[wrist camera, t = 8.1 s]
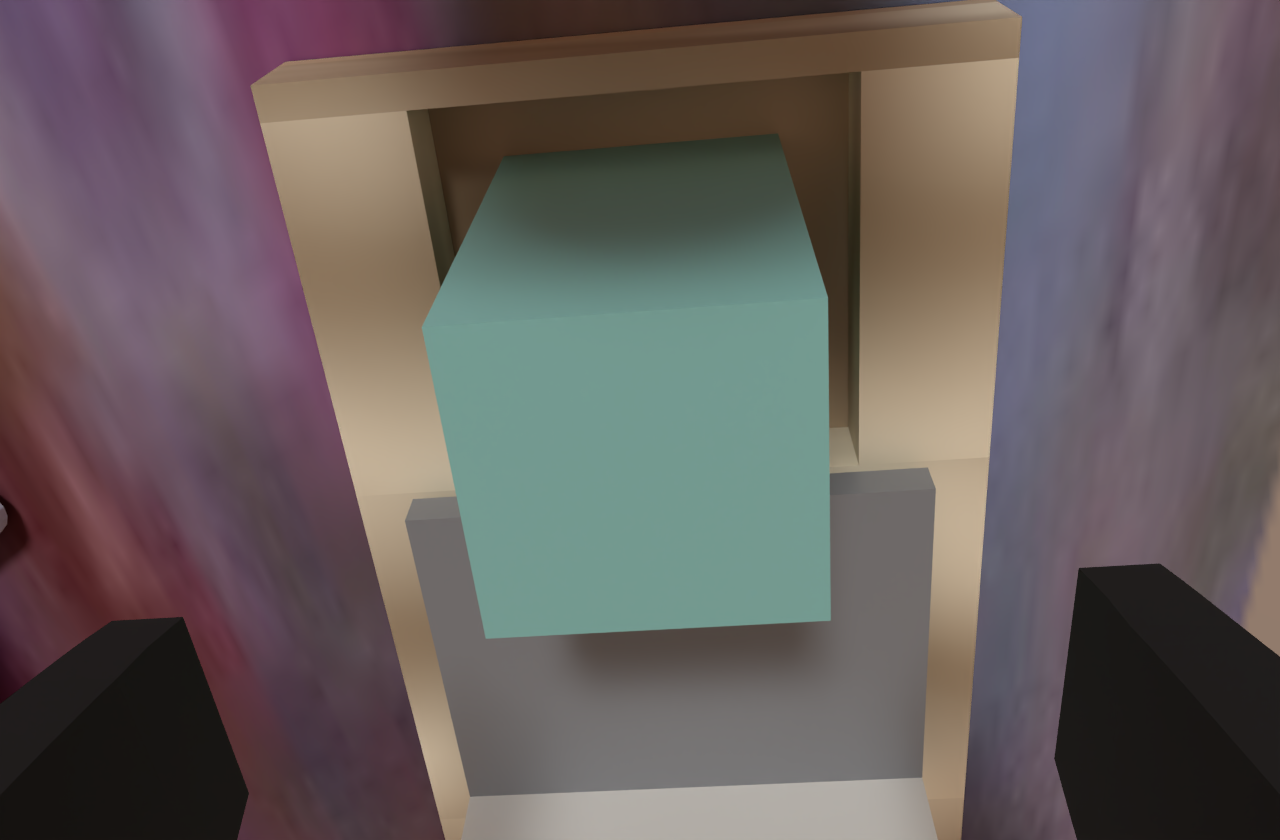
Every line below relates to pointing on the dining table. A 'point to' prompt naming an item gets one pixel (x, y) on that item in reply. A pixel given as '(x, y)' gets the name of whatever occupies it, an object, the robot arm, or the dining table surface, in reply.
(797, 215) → the block
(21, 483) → the dining table surface
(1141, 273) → the dining table surface
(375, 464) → the board
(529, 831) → the cover
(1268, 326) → the dining table surface
